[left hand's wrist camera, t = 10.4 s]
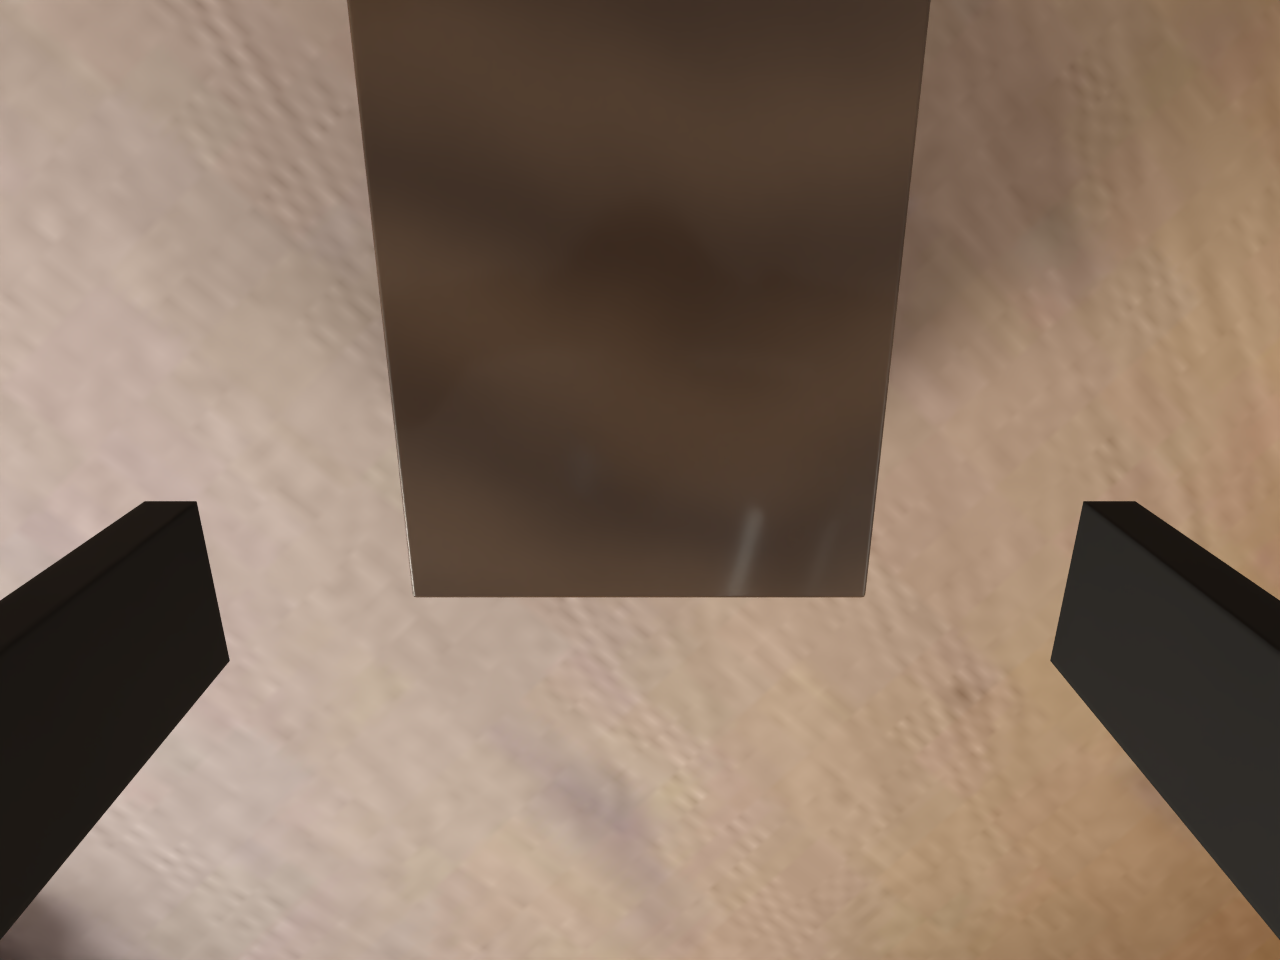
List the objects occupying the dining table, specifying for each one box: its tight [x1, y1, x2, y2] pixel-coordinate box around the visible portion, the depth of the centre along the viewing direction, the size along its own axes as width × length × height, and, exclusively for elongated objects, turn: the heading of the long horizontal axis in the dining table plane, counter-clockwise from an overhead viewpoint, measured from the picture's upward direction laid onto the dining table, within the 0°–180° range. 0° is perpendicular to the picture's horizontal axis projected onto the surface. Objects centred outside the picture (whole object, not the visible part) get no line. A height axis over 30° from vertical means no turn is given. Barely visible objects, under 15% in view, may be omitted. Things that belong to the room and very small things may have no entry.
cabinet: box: [347, 0, 930, 597], centre depth 21 cm, size 17×11×11 cm, turn 0°
